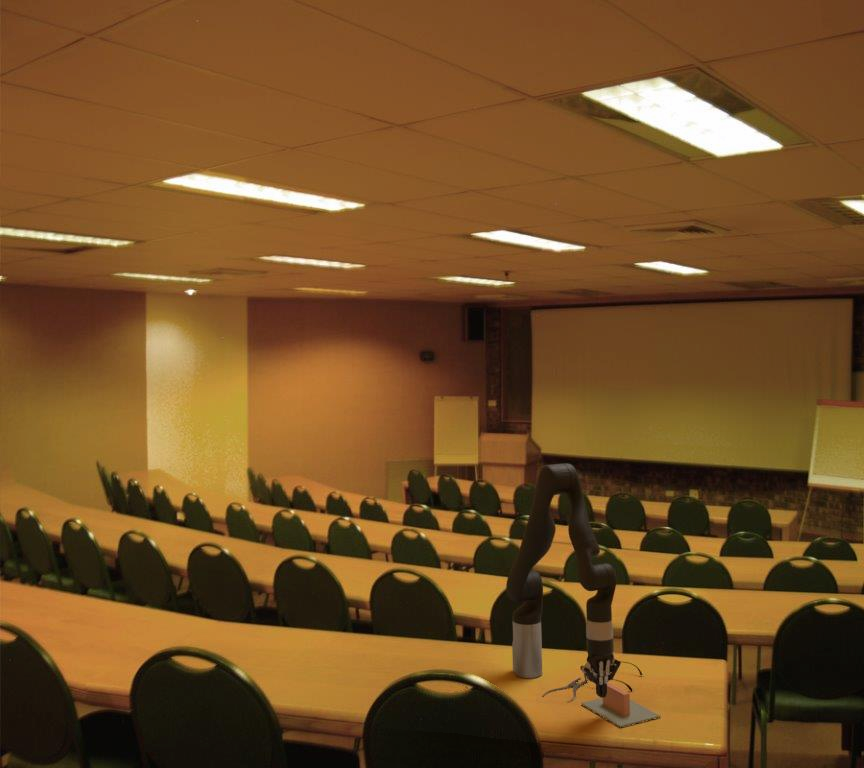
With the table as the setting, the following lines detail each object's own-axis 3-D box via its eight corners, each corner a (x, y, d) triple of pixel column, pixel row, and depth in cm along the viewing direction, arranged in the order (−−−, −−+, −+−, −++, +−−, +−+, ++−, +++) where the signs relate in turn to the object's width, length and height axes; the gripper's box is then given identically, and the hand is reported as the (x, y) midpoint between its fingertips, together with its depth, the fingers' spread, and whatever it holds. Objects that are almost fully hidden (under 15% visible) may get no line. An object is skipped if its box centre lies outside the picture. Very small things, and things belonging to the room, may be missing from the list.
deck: (602, 703, 236) (602, 683, 236) (607, 702, 237) (607, 682, 237) (624, 716, 227) (624, 694, 227) (629, 714, 228) (629, 693, 228)
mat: (581, 704, 237) (581, 702, 237) (619, 695, 243) (619, 693, 243) (620, 728, 221) (620, 726, 221) (660, 717, 227) (660, 715, 227)
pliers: (539, 697, 242) (559, 674, 260) (539, 700, 242) (559, 677, 260) (571, 702, 238) (589, 678, 256) (571, 705, 238) (589, 681, 256)
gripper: (610, 628, 235) (612, 687, 235) (572, 635, 229) (574, 696, 229) (626, 635, 228) (628, 696, 228) (588, 642, 223) (590, 705, 222)
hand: (601, 696), depth 229 cm, fingers closed
